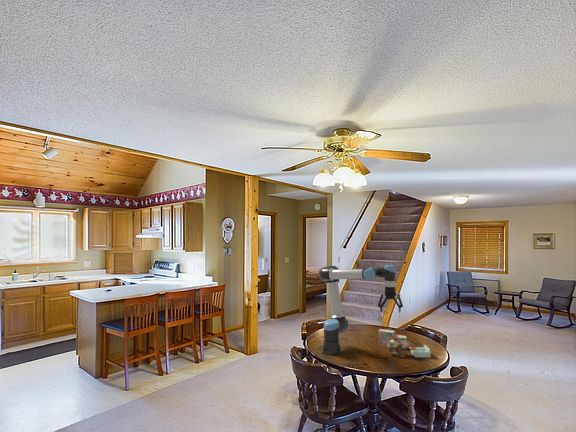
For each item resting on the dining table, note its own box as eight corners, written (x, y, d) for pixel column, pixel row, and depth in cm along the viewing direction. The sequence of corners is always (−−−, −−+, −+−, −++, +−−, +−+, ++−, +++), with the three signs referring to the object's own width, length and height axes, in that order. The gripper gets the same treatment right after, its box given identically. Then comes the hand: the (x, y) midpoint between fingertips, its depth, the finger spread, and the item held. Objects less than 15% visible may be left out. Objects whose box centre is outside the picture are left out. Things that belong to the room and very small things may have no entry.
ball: (391, 345, 249) (391, 340, 250) (389, 343, 253) (389, 339, 253) (395, 345, 249) (395, 340, 250) (394, 343, 253) (394, 339, 253)
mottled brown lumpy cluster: (391, 354, 243) (391, 345, 243) (387, 349, 254) (387, 340, 254) (416, 355, 242) (416, 345, 242) (411, 349, 253) (410, 340, 254)
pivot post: (396, 356, 247) (396, 345, 247) (393, 352, 255) (393, 341, 255) (404, 356, 246) (404, 345, 247) (401, 352, 255) (401, 341, 255)
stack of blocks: (406, 347, 266) (406, 332, 267) (405, 350, 261) (405, 334, 261) (379, 343, 276) (379, 328, 277) (378, 346, 271) (378, 330, 271)
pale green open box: (415, 357, 245) (415, 349, 246) (410, 352, 255) (410, 344, 256) (430, 357, 245) (430, 349, 245) (425, 352, 255) (425, 344, 255)
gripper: (375, 287, 243) (375, 317, 242) (407, 287, 243) (408, 318, 242) (373, 285, 251) (373, 315, 249) (404, 285, 250) (404, 315, 249)
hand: (390, 316), depth 246 cm, fingers open, 11 cm apart
